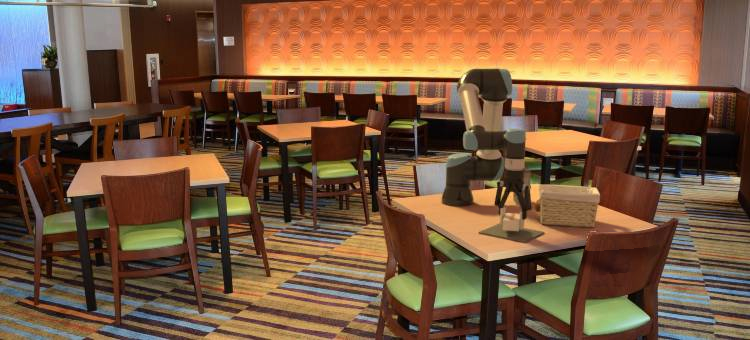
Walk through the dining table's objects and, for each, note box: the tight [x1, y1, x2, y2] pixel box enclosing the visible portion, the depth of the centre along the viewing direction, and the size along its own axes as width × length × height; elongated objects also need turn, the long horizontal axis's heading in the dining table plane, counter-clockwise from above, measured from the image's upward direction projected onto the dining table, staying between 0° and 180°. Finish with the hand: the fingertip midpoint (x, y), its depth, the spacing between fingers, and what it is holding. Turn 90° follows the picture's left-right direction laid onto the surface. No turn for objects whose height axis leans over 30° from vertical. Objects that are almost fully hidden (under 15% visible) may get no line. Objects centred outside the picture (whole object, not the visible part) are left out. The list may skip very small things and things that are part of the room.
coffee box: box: [512, 167, 532, 206], centre depth 311 cm, size 9×6×16 cm
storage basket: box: [538, 183, 601, 228], centre depth 275 cm, size 24×16×15 cm
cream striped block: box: [503, 212, 520, 231], centre depth 259 cm, size 12×6×4 cm, turn 163°
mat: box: [478, 222, 545, 244], centre depth 260 cm, size 20×17×1 cm
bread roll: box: [533, 198, 540, 213], centre depth 297 cm, size 10×10×8 cm
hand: (511, 225), depth 259 cm, fingers closed on cream striped block, 8 cm apart
